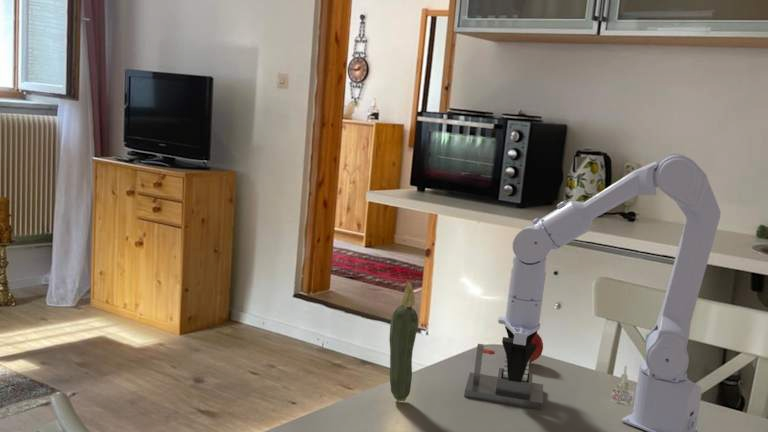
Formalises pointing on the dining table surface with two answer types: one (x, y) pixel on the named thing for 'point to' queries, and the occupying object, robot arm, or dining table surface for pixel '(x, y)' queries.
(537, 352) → the onion
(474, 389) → the jack base
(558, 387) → the dining table surface
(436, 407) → the dining table surface
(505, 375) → the column
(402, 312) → the vegetable
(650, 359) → the robot arm
